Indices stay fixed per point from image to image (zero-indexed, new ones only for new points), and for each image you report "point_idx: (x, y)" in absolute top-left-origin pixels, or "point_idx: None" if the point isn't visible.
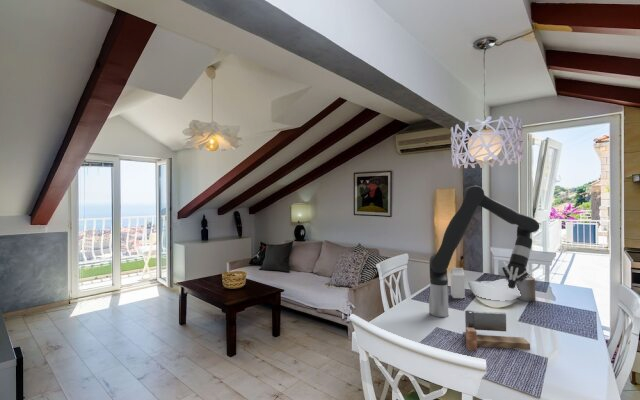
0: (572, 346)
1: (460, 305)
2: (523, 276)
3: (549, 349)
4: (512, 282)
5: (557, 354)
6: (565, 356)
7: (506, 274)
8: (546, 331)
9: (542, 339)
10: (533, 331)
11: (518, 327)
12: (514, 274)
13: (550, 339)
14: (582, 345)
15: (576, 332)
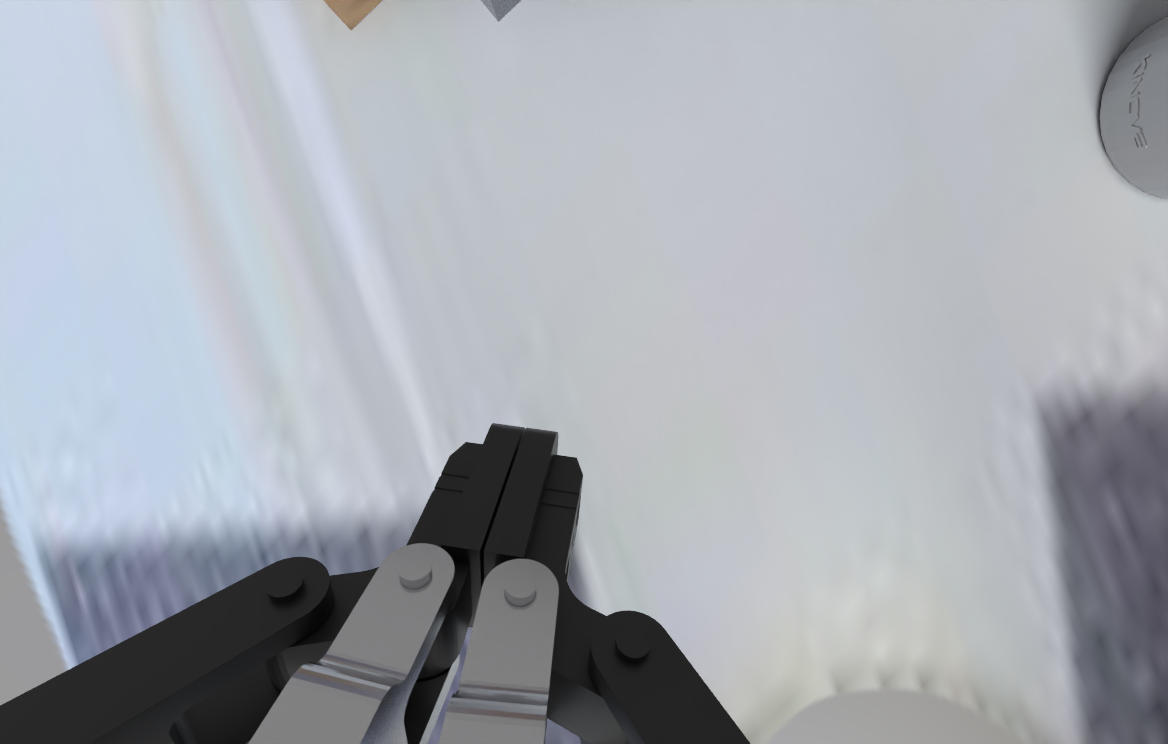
0: (96, 267)
1: (1120, 531)
2: (40, 704)
3: (177, 61)
4: (467, 507)
5: (106, 8)
6: (59, 18)
7: (675, 724)
8: (325, 440)
9: (284, 234)
10: (392, 359)
11: (507, 356)
12: (351, 725)
13: (245, 284)
14: (60, 346)
15: (174, 591)
